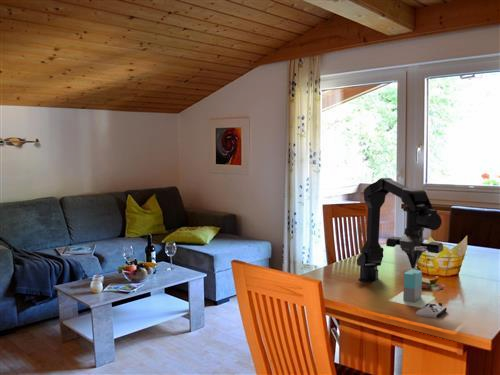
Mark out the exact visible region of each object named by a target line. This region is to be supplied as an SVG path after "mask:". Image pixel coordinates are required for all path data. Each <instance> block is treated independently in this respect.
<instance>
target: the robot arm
mask: <svg viewBox="0 0 500 375" xmlns="http://www.w3.org/2000/svg"><path fill="white" fill-rule="evenodd" d="M388 194H392V195H395V196H396V197H398V198H400V199H401V202H402V203H403V205H404V206H405V207H404V208H402V211H403V212H405V213H406V221H405V222H406V224H405V226H406V227H405V228H404V233H403V234H402V235H401V237H399V236H391V237H388V238H387V239H386V242H385V246H386V247H388V248H389V247H390V248H395V247H396V246H400V249H401V251H403V252H404V253H405V254H406V255H407V258H408V262H409V263H410V267H411V269H416V267H417V264H418V262H419V260H420V258H421V256H422V255H423V253H425V252H426V251H427V252H428V253H432V254H440V253H441V252H443V251H444V244H443V243H442V242H437V241H430V242H428V243H424V241H425V238H424V231H425V229H427V230H431V231H437V230H439V229H440V228H441V226H442V222H443V220H442V217H441V216H440V214H438V210H437V209H434V208H433V204H432V203H431V201H430V198H429V197H428V194H427V192H426V191H425V190H423V189H419V188H410V187H408V186H406V185H404V184H402V183H400V182H398V181H395V180H393V178H391V177H380V178H379V179H377V181H375V182H372V183H371V184H369V185H368V186H365V188H364V189H363V201H364V203H365V205H366V206H367V215H366V216H367V218H366V239H365V240H366V241H365V243H364V245H362V247H361V252H360V253H361V254H360V255H359V256H358V258H357V259H356V265H357V266H359V278H358V281H362V282H366V283H374V282H376V281H377V280H379V269H378V267H380V266H381V265H382V262H383V260H384V259H383V258H384V251H385V250H384V247H382V246H381V245H380V222H381V208H382V206H383V205H384V203H385V200H386V196H387V195H388Z"/></svg>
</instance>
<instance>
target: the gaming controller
mask: <svg viewBox="0 0 500 375" xmlns="http://www.w3.org/2000/svg"><path fill="white" fill-rule="evenodd" d="M443 313H447V307H446V306H444V304H443V303H442V302H438V303H435V302H430V303H427V304H426V305H425V307H423V308H419V310H417V311H415V315H416V316H418V317H419V316H420V317H426V318H435V319H436V318H437V319H438V318H441V316H442V315H443Z"/></svg>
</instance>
